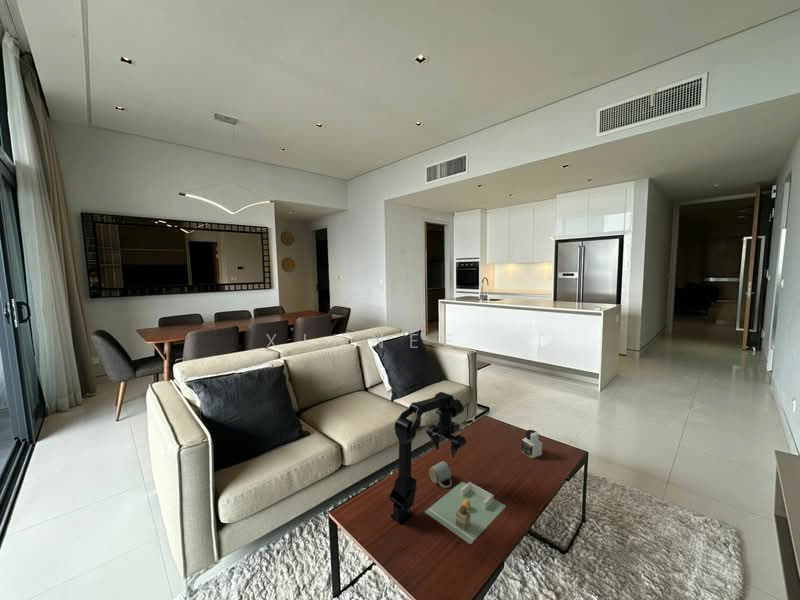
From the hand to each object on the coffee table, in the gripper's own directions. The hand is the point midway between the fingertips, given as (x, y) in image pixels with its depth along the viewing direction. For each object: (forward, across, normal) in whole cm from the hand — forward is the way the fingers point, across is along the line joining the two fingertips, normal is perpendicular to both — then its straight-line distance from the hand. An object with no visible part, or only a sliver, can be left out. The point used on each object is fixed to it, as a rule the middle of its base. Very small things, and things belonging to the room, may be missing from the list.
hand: (445, 453), depth 149 cm
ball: (+12, -16, +7) cm, 21 cm away
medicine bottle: (+15, -18, -50) cm, 55 cm away
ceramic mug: (+15, +2, 0) cm, 15 cm away
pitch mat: (+15, -16, +7) cm, 23 cm away
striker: (+14, -20, +15) cm, 29 cm away
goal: (+14, -16, -1) cm, 21 cm away
